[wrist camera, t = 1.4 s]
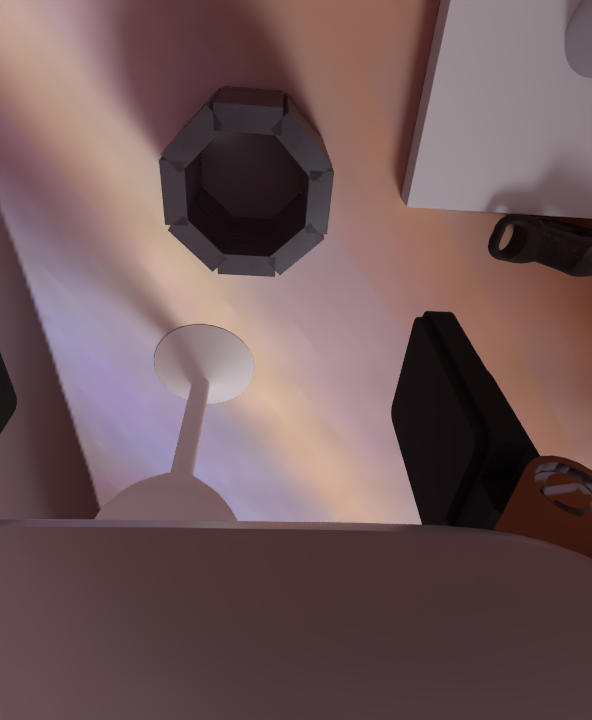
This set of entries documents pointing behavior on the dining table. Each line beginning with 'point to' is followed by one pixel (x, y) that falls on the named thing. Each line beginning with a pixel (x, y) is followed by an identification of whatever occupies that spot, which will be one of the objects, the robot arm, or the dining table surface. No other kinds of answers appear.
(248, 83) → the dining table surface
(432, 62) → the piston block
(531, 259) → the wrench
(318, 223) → the steel ring
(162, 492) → the champagne flute
